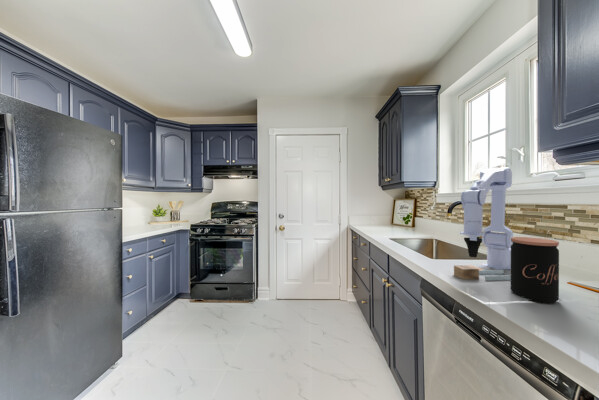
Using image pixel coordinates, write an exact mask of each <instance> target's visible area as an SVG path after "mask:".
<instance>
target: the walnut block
mask: <svg viewBox="0 0 599 400" xmlns="http://www.w3.org/2000/svg"><path fill="white" fill-rule="evenodd" d="M469 265H470V264H469ZM469 265H468V264H467V265H465V264H464V265H453V275H454V276H455V277H457V278H459V279H461V280H479V279H480V278H479V269H477V268H478V267H477V268H474V267H472V266H473V265H472V266H469Z"/></svg>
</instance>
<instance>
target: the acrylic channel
mask: <svg viewBox="0 0 599 400" xmlns="http://www.w3.org/2000/svg"><path fill="white" fill-rule="evenodd" d="M504 270H505V269H483V270H479V279H480V280H484V281H511V274H510V275H506V274H505V275H503V274H504V273H505V272H504Z"/></svg>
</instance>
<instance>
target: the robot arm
mask: <svg viewBox="0 0 599 400" xmlns="http://www.w3.org/2000/svg"><path fill="white" fill-rule="evenodd" d="M512 182H513V172H512V169H511V168H510V167H508V166H507V167H500V168H499V167H498V168H497V167H496V168H487V169H486V168H482V170H481V171H480V173H479V180H476V181H475V182H474V183H473V184H472V185H471V186H470V188H469V189H468V190H467V189H466V190H464V191H462V192H461V194H460V195H461V196H460V201H461V205H462V206H461V207H462V210H463V231H460V235H464V236H467V237H464V238H463V240H464V242H465V244H466V246H467V252H468V255H469V257H470V258H477V257H478V252H479V248H480V245H481V244H482V243H483V245H484V246H485V247H486V251H487V252H486V263H482V265H483V266H486V267H489V268H492V269H494V270H511V245H512V244H513V242H512V241H511V238H512V237H514V233H513V230H512V229H510V227H508V226H506V225H505V222H506V221H505V220H506V218H505V217H506V198H507V197H506V193H507V189H508V188H510V187H511V186H512ZM490 190H491V202H490V203H491V204H490V206H491V207H490V225H488V226H487V227H485V228H483V206H484V205H485V203H486V199H487V194H488V193H489V192H490Z"/></svg>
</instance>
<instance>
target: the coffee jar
mask: <svg viewBox="0 0 599 400" xmlns="http://www.w3.org/2000/svg"><path fill="white" fill-rule="evenodd" d="M511 241H512V242H513V244H512V245H511V269H510V275H511V280H510V291H511V292H512V294H514V295H516V296H518V297H521V298H523V299H526V300H527V301H528V302H532V303H538V304H547V305H553V304H556V302H558V301H559V299H560V298H559V297H560V293H559V292H560V250H559V249H558V248H557V247H558V246H559V244H560V241H558V240H555V239H554V240H553V239H547V238H541V237H539V238H538V237H531V236H530V237H527V236H513V237H512V238H511Z"/></svg>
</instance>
